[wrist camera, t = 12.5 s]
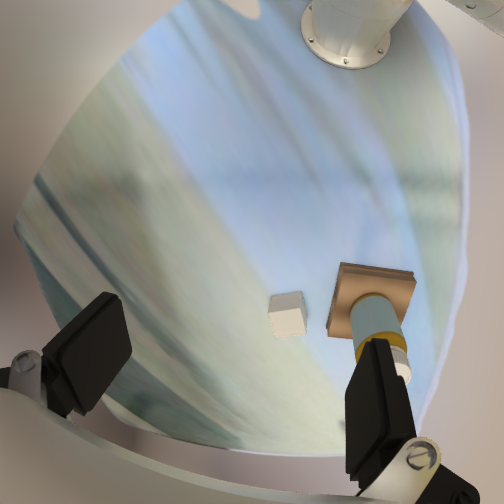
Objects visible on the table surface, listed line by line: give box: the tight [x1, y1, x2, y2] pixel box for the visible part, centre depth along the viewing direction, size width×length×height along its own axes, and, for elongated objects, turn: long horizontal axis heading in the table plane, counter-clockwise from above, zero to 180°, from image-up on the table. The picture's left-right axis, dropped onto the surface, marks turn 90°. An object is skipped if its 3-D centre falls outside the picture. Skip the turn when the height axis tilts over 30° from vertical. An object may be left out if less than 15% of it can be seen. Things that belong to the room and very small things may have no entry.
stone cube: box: [268, 291, 307, 338], centre depth 46 cm, size 5×5×5 cm
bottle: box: [350, 294, 411, 385], centre depth 35 cm, size 7×7×15 cm
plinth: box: [326, 262, 417, 339], centre depth 43 cm, size 12×12×3 cm
